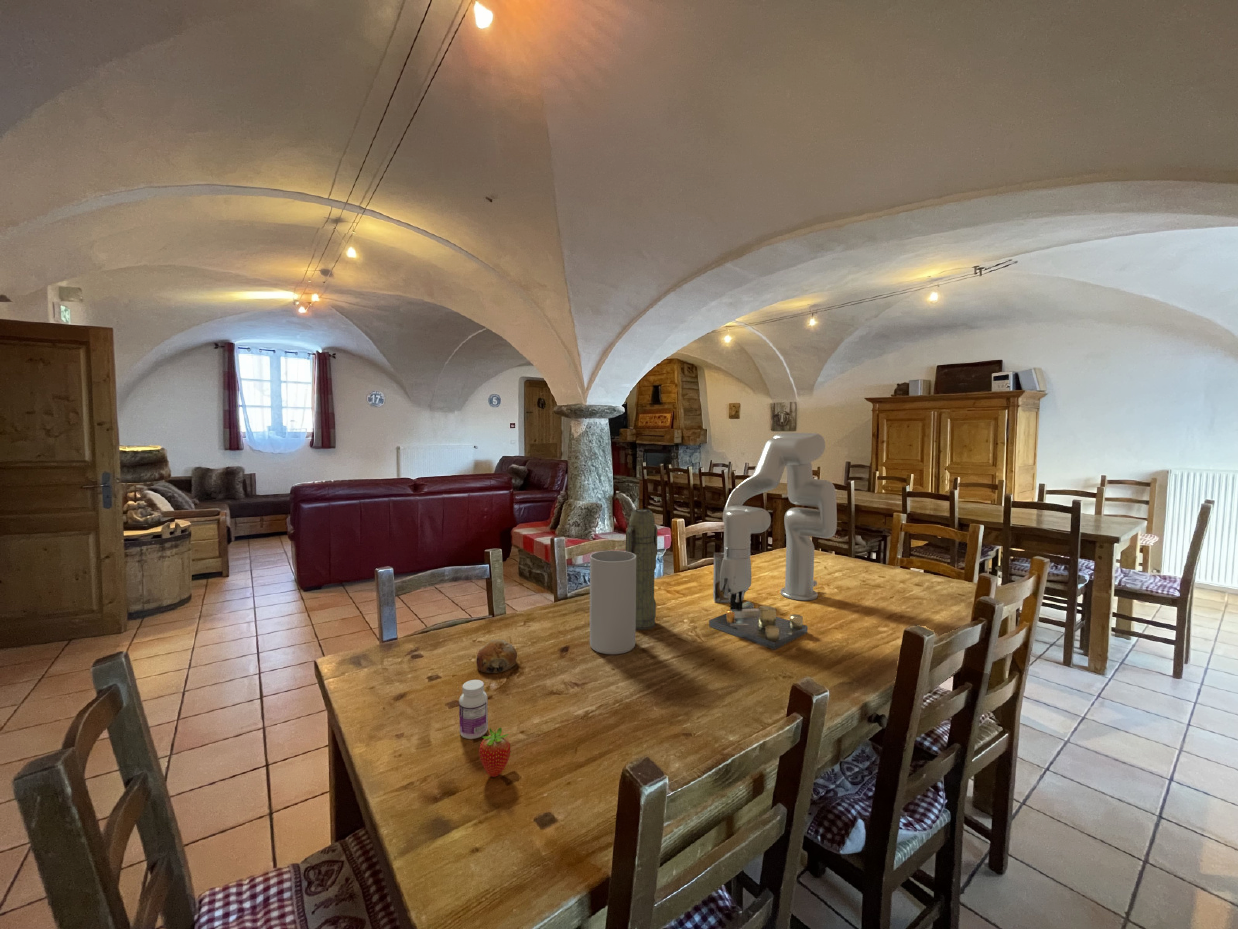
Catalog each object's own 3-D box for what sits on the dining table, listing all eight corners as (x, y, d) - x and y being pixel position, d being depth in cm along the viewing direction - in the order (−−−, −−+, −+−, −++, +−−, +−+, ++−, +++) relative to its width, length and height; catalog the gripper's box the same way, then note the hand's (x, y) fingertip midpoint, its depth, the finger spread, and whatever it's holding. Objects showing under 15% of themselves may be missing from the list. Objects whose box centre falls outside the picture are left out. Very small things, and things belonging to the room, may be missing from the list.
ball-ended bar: (771, 622, 154) (771, 605, 154) (778, 628, 149) (779, 611, 149) (723, 624, 152) (724, 607, 152) (729, 630, 147) (729, 613, 147)
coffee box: (738, 597, 183) (739, 552, 182) (741, 603, 176) (742, 557, 175) (712, 596, 184) (713, 551, 182) (714, 602, 177) (715, 556, 176)
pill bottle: (462, 724, 104) (462, 678, 103) (489, 723, 104) (489, 677, 103) (456, 740, 98) (456, 691, 98) (485, 739, 99) (484, 690, 98)
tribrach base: (743, 612, 168) (743, 597, 167) (807, 632, 152) (807, 616, 151) (709, 626, 156) (709, 610, 155) (774, 650, 140) (774, 632, 139)
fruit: (473, 780, 87) (472, 734, 87) (491, 761, 92) (490, 718, 92) (500, 788, 85) (499, 741, 85) (517, 769, 90) (516, 725, 90)
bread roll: (520, 676, 131) (527, 643, 134) (500, 676, 122) (508, 641, 125) (487, 670, 135) (494, 638, 137) (465, 669, 126) (473, 635, 128)
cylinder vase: (642, 641, 145) (643, 553, 143) (623, 659, 133) (624, 564, 132) (602, 633, 150) (602, 548, 148) (581, 650, 138) (581, 558, 137)
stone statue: (664, 622, 159) (665, 509, 156) (640, 633, 150) (641, 514, 148) (641, 615, 165) (643, 506, 162) (617, 625, 156) (618, 510, 153)
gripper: (740, 546, 159) (740, 604, 161) (710, 554, 149) (710, 616, 151) (762, 550, 154) (761, 610, 155) (732, 560, 144) (731, 624, 145)
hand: (736, 613), depth 153 cm, fingers closed
